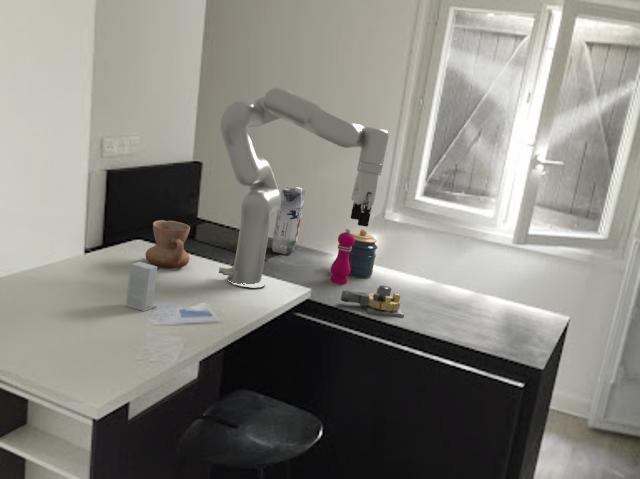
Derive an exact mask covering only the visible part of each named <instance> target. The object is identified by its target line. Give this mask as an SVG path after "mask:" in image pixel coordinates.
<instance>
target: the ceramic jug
mask: <svg viewBox="0 0 640 479" xmlns="http://www.w3.org/2000/svg"><path fill="white" fill-rule="evenodd" d="M152 230H153V236H154V239H155V243H156V244H155V245H153V246H151V247H150V248H148V249H147V250H146V252H145V259H146V261H147V262H148V263H149V264H150V265H153V266H157V268H163V269H167V270H168V269H170V270H173V269H174V268H175V269H179V268H180V269H181V268H183V267H186V266H187V265H189V262H190V255H189V254H188V252H187V251H186V250H185V249H184V245H185V243H186V240H187V239H188V236H189V234H190V230H191V226H190V225H188V224H186V223H183V222H179V221H175V220H167V221H166V219H165V220H163V219H162V220H155V221H154V222H152Z"/></svg>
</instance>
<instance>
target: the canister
mask: <svg viewBox="0 0 640 479" xmlns="http://www.w3.org/2000/svg"><path fill="white" fill-rule="evenodd" d="M351 234H352V235H353V236H354V239H355V241H354V244H353V245H352V246H351V247H352V248H351V251H350V252H349V264H350V274H349V275H348V277H355V278H360V279H361V278H362V279H368V278H367V277H369V278H371V277H372V275H373V271H374V265H375V260H376V256H377V255H376V251H377V250H378V245H377V244H376V243H377V239H375V237H374V236H373V235H371V234H367V230H366V228H363V229H360V230H359V232H355V231H354V232H352V233H351ZM370 276H371V277H370Z"/></svg>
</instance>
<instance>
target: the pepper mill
mask: <svg viewBox="0 0 640 479" xmlns="http://www.w3.org/2000/svg"><path fill="white" fill-rule="evenodd" d="M337 241H338V244H337V249H338V250H337V251H338V252H337V256H336V257H335V259H334V260H333V262H332V264H331V265H330V272H331V275H330V277H329V282H332V283H334V284H336V285H346V284H347V283H348V277H349V274H350V264H349V252H350V251H351V248H352V247H351V246H352V245H353V244H354V241H355V239H354V236H353V235H352V233H351V229H350V228H347V227H346V228H345V232H342V233H341V232H340V234H339V235H338V237H337Z"/></svg>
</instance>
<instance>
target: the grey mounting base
mask: <svg viewBox="0 0 640 479" xmlns="http://www.w3.org/2000/svg"><path fill="white" fill-rule="evenodd" d="M378 288H379V291H378V294H380V295H381V300H380V301H384V296H391V294H392V293H391V292H392V288H391V287H390V286H388V285H384V284H383V285H379V287H378ZM361 306H362V307H363V308H364V310H365V311H366V312H367V314H371V315H380V316H381V315H382V316H387V317H388V316H390V317H398V318H404V316H405V314H404V312H403V311H402V309H400V308H399V309H397V310H394V311H388V310H380V309H377V308H374V307H372V306H369V305H364V304H361Z"/></svg>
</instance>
